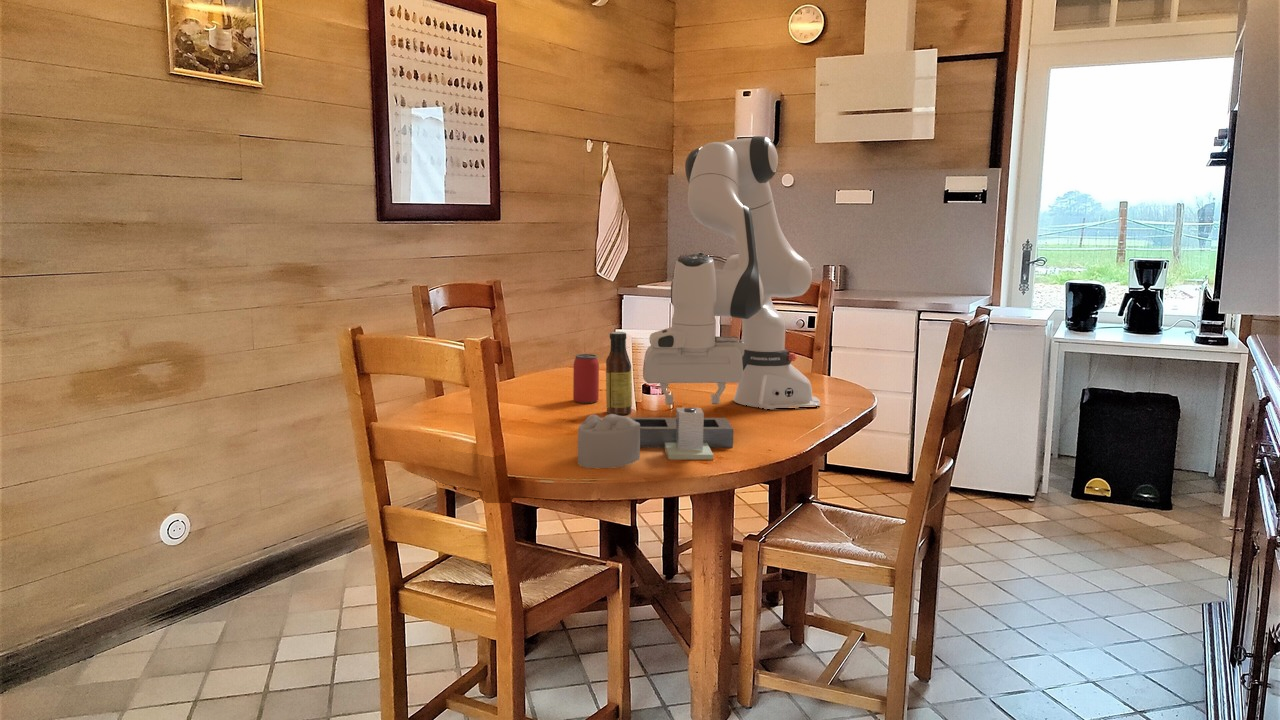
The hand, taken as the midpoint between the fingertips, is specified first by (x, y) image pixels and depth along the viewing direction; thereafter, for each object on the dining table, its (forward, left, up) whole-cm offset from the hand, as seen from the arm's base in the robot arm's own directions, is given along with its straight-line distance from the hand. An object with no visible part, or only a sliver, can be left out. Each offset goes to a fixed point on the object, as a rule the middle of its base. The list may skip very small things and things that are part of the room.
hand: (692, 403), depth 174 cm
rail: (+3, -9, -10) cm, 14 cm away
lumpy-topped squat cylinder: (+18, +5, -11) cm, 21 cm away
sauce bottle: (+14, -36, -11) cm, 40 cm away
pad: (+1, 0, -10) cm, 10 cm away
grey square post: (0, 0, -9) cm, 9 cm away
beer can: (+22, -49, -11) cm, 54 cm away
